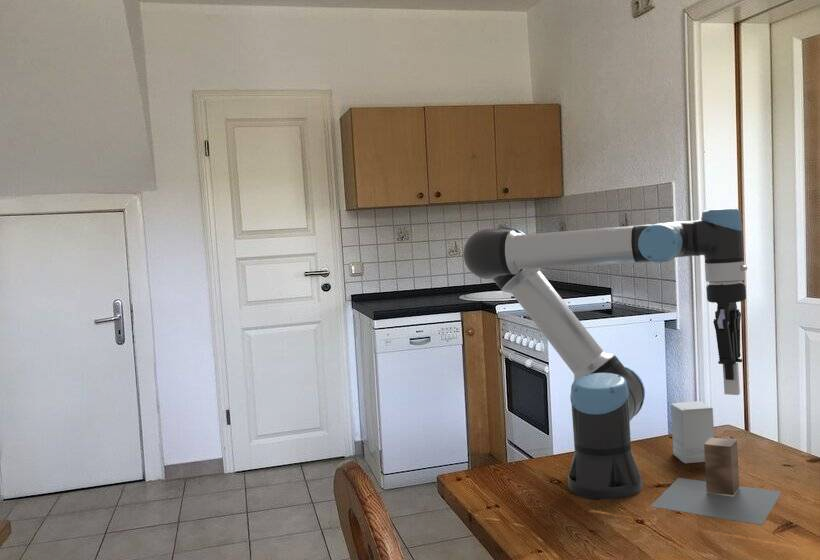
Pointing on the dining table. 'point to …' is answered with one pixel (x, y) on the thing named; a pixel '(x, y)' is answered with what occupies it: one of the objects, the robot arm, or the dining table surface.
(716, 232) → the robot arm
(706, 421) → the supplement box
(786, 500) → the dining table surface
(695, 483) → the rubber mat
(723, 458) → the walnut block
